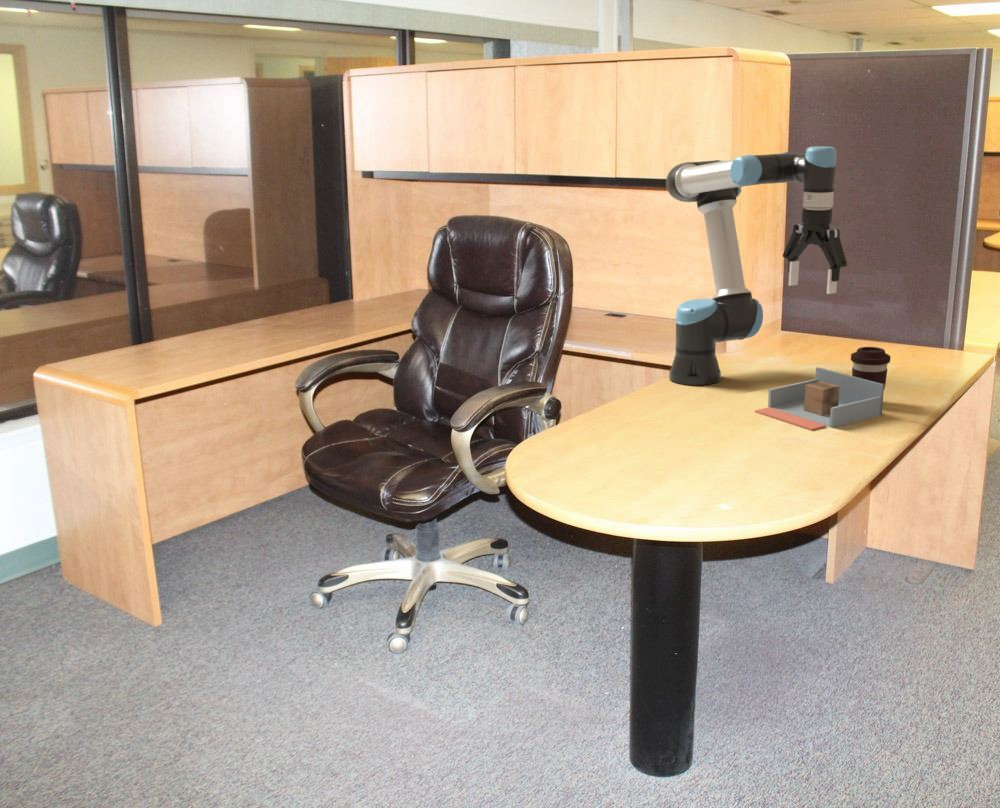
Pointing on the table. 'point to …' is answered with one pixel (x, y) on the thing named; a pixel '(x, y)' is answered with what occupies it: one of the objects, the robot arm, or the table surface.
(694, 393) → the table surface
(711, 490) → the table surface
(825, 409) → the walnut block
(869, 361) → the coffee cup
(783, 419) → the panel
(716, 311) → the robot arm
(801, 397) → the truck bed
